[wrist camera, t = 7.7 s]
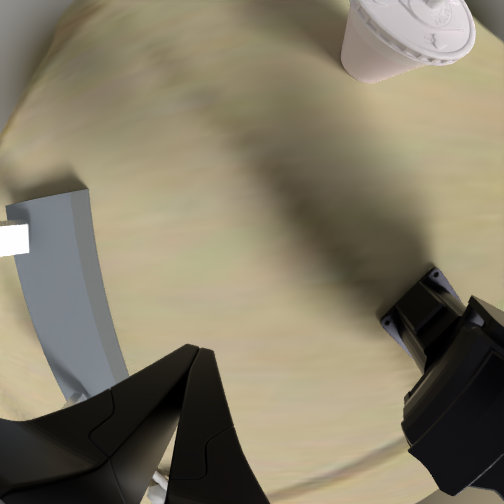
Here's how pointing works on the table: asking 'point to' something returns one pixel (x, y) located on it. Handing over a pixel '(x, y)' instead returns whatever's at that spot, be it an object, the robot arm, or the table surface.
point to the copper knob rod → (14, 237)
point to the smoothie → (404, 36)
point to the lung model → (158, 489)
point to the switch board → (68, 293)
